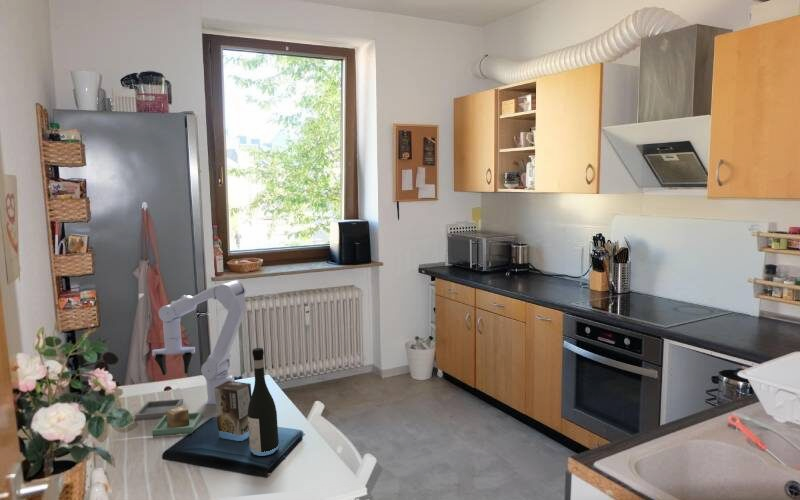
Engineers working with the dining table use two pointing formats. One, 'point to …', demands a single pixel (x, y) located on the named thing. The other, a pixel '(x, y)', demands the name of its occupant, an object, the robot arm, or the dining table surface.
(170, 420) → the brown cardboard box
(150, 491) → the dining table surface
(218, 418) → the coffee box
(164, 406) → the charcoal tray
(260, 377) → the wine bottle
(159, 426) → the green tray
